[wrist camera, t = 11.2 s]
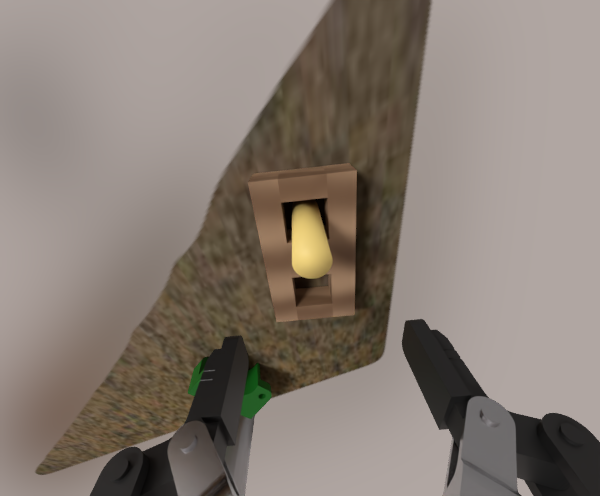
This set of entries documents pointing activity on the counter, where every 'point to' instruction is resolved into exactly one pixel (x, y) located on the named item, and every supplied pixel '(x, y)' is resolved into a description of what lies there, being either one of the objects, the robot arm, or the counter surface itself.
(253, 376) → the clamp
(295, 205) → the peg
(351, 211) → the hole block
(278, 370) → the counter surface
